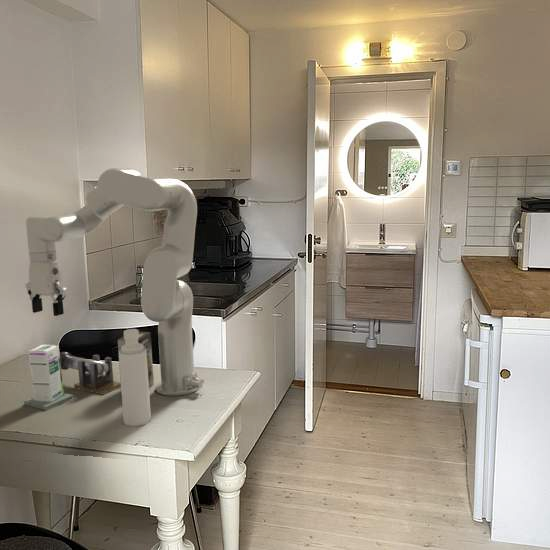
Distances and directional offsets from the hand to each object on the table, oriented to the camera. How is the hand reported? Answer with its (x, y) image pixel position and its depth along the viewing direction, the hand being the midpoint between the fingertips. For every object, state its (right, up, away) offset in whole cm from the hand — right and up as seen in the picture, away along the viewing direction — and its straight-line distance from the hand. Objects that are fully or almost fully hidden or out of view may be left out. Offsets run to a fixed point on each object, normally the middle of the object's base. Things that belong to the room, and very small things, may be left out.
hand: (48, 313), depth 172 cm
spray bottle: (+34, -25, -29) cm, 52 cm away
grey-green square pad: (+6, -23, -16) cm, 29 cm away
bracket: (+17, -21, -6) cm, 28 cm away
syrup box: (+6, -23, -15) cm, 28 cm away
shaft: (+12, -18, -3) cm, 22 cm away
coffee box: (+29, -22, -8) cm, 37 cm away
